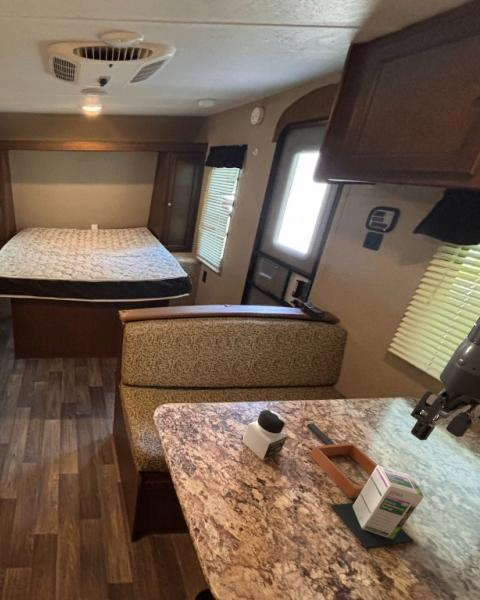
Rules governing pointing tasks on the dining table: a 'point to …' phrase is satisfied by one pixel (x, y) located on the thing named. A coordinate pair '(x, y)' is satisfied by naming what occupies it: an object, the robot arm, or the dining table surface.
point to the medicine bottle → (266, 435)
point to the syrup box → (387, 501)
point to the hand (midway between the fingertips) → (435, 435)
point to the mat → (366, 536)
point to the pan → (337, 449)
